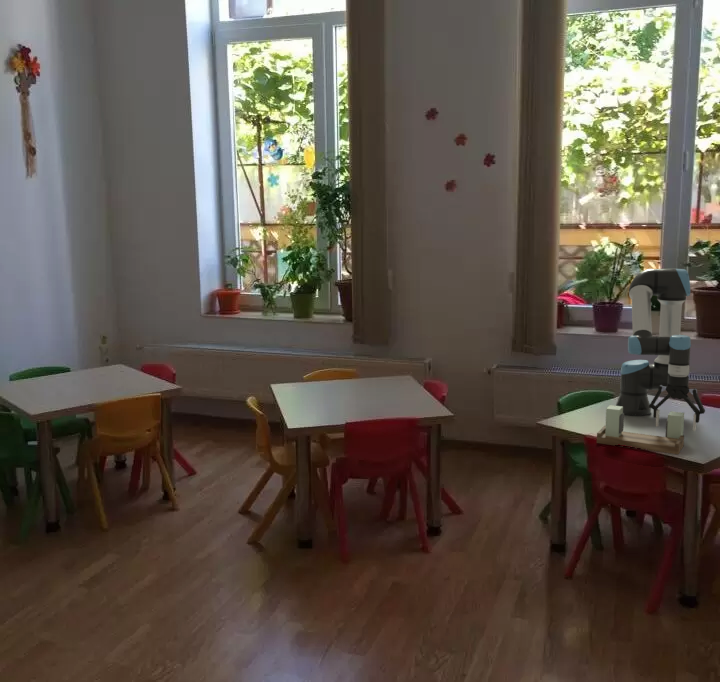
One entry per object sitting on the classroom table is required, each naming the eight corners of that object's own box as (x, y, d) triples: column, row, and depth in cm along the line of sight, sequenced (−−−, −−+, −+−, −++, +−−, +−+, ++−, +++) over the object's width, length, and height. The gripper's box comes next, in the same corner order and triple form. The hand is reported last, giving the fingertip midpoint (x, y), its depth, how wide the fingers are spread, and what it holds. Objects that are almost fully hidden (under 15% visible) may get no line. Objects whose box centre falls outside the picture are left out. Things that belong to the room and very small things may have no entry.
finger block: (667, 437, 301) (669, 411, 299) (682, 439, 298) (684, 412, 296) (665, 441, 296) (666, 414, 294) (680, 443, 293) (681, 416, 291)
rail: (604, 435, 306) (604, 425, 306) (683, 445, 291) (684, 435, 290) (596, 442, 296) (597, 433, 296) (678, 454, 281) (678, 444, 280)
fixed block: (609, 431, 302) (610, 405, 300) (623, 433, 299) (624, 406, 297) (605, 435, 297) (606, 408, 295) (619, 437, 294) (621, 410, 292)
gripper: (642, 373, 296) (640, 426, 299) (712, 379, 283) (708, 434, 286) (646, 370, 302) (644, 421, 305) (714, 376, 289) (711, 429, 292)
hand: (675, 428), depth 296 cm, fingers open, 13 cm apart
